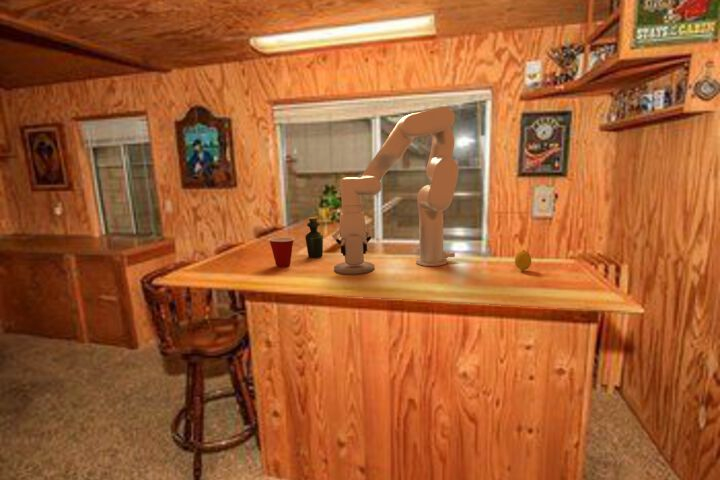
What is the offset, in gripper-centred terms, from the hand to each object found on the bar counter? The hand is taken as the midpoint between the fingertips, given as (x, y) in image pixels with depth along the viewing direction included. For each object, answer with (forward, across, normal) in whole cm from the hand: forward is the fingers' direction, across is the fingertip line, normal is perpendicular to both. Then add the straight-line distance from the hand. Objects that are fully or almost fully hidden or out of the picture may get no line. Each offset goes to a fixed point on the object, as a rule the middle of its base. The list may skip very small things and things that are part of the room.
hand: (354, 253), depth 154 cm
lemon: (+7, -59, +22) cm, 63 cm away
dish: (+6, 0, 0) cm, 6 cm away
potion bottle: (+6, +14, -27) cm, 31 cm away
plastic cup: (+6, +28, -15) cm, 33 cm away
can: (+4, 0, 0) cm, 4 cm away
